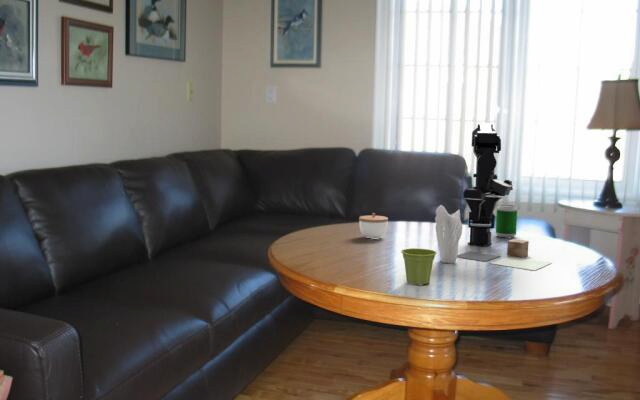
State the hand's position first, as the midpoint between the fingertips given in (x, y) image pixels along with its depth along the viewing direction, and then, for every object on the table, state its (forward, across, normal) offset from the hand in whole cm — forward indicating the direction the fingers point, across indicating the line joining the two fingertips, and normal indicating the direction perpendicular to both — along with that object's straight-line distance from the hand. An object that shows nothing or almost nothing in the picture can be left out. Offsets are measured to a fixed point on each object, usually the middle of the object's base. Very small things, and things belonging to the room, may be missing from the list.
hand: (483, 219), depth 213 cm
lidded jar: (+12, +5, +46) cm, 47 cm away
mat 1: (+12, 0, +2) cm, 12 cm away
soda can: (+11, +42, +10) cm, 45 cm away
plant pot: (+14, -43, -2) cm, 45 cm away
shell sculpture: (+13, -14, +5) cm, 19 cm away
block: (+12, +11, -8) cm, 18 cm away
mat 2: (+12, 0, -13) cm, 18 cm away
